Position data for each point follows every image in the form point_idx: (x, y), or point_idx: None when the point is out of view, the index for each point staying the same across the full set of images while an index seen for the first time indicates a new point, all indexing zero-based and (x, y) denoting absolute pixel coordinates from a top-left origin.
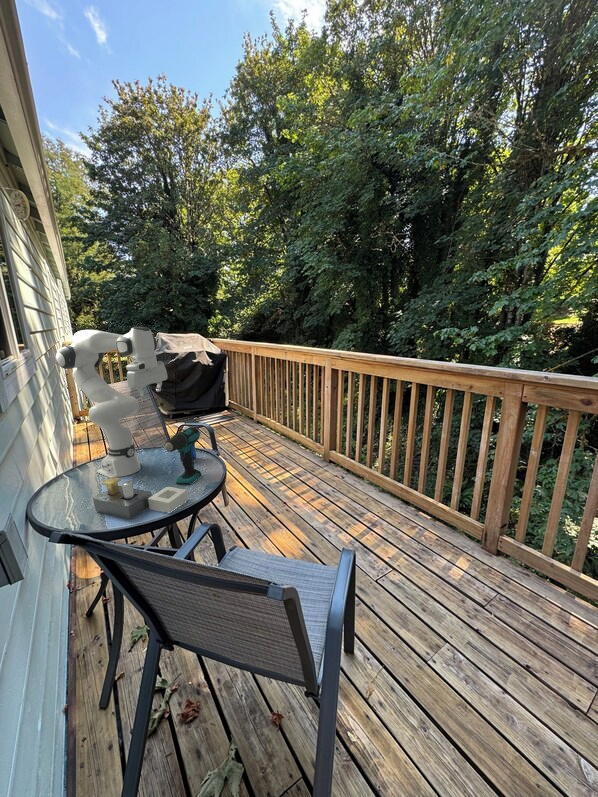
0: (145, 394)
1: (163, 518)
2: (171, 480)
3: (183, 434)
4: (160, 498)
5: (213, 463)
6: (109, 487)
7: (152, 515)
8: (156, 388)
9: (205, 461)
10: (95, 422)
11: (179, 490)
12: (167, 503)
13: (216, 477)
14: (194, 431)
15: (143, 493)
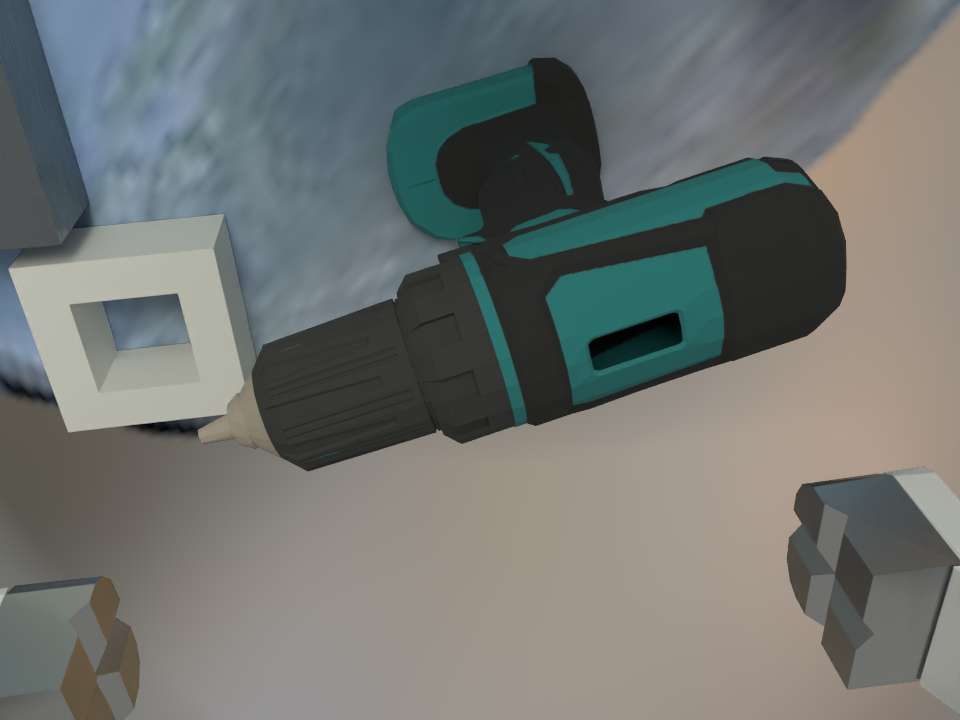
0: (133, 699)
1: (33, 388)
2: (425, 15)
3: (529, 414)
4: (68, 346)
5: (810, 122)
6: None
7: (7, 306)
8: (851, 594)
9: (840, 18)
10: None
11: (218, 375)
12: (66, 421)
13: None
14: (728, 360)
15: (5, 209)
